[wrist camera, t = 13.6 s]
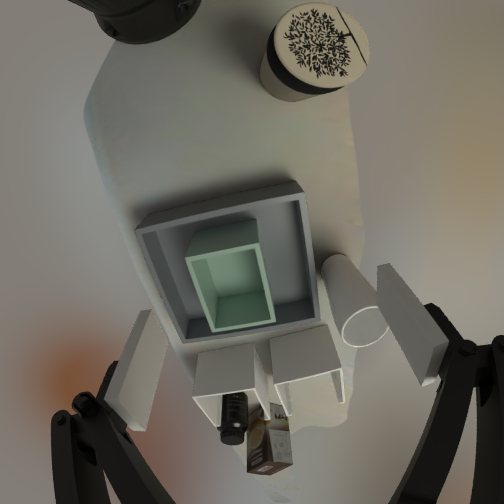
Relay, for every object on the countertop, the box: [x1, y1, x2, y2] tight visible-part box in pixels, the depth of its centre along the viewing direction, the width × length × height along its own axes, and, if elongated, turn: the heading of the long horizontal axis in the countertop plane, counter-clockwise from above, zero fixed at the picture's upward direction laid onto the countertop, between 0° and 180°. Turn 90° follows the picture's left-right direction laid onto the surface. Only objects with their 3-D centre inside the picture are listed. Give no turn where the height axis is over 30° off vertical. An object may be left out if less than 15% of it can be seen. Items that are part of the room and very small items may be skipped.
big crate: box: [134, 181, 321, 344], centre depth 42 cm, size 20×22×6 cm
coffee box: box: [247, 403, 293, 475], centre depth 57 cm, size 9×6×16 cm
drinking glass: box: [321, 254, 389, 347], centre depth 39 cm, size 7×7×15 cm
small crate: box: [185, 219, 276, 332], centre depth 40 cm, size 12×9×8 cm
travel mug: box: [260, 3, 370, 102], centre depth 25 cm, size 8×8×18 cm
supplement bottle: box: [217, 392, 249, 445], centre depth 55 cm, size 7×7×12 cm
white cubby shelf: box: [192, 324, 345, 427], centre depth 50 cm, size 25×11×11 cm, turn 106°
